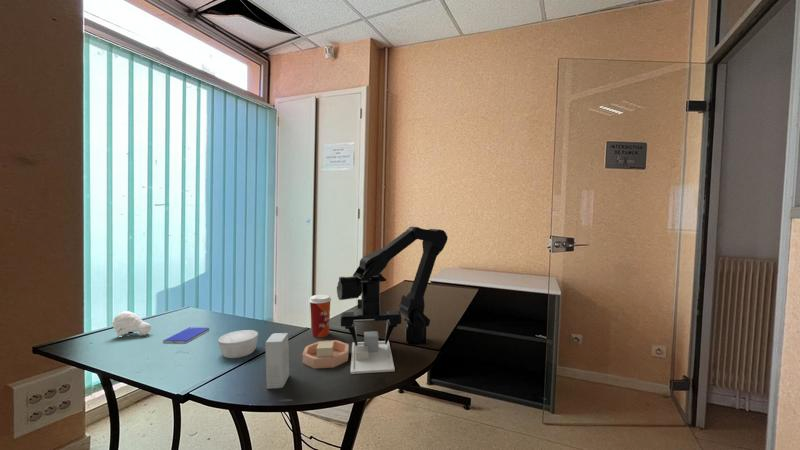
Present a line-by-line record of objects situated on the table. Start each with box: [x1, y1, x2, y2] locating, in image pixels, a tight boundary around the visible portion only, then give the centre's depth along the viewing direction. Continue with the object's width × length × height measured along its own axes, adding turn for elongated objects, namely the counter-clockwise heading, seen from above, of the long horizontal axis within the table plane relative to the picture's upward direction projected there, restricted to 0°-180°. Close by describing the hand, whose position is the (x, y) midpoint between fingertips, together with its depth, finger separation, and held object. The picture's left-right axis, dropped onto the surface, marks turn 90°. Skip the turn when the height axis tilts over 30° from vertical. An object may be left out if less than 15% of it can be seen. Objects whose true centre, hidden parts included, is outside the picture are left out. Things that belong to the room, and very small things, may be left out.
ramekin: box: [217, 329, 259, 359], centre depth 104 cm, size 11×11×5 cm
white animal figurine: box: [111, 310, 152, 337], centre depth 118 cm, size 6×8×12 cm
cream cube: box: [316, 341, 334, 357], centre depth 95 cm, size 4×4×5 cm
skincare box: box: [264, 332, 290, 390], centre depth 85 cm, size 6×4×12 cm
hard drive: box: [162, 326, 210, 344], centre depth 117 cm, size 2×8×12 cm
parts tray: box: [350, 340, 395, 375], centre depth 99 cm, size 12×20×1 cm, turn 7°
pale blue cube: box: [363, 330, 379, 353], centre depth 104 cm, size 4×4×5 cm
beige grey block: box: [356, 346, 369, 361], centre depth 99 cm, size 4×5×2 cm
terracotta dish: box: [302, 339, 350, 369], centre depth 98 cm, size 13×13×3 cm
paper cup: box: [308, 294, 332, 338], centre depth 117 cm, size 8×8×14 cm
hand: (371, 344), depth 104 cm, fingers open, 9 cm apart
